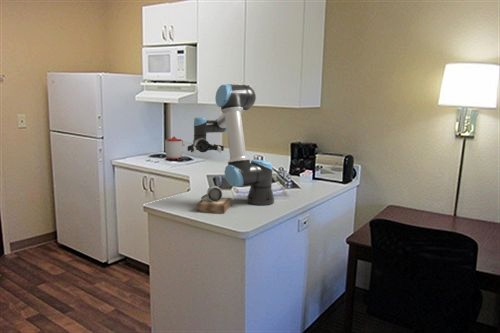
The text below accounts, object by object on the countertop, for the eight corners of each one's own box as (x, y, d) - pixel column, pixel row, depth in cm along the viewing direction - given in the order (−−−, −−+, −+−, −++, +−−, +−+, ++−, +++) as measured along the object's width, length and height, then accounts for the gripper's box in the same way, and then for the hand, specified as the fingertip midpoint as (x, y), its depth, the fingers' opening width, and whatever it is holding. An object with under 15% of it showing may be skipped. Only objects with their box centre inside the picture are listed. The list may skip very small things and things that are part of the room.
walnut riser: (230, 205, 219) (231, 197, 218) (224, 213, 204) (224, 205, 204) (205, 203, 221) (205, 195, 221) (197, 211, 207) (197, 203, 206)
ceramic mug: (220, 197, 217) (220, 183, 216) (222, 202, 209) (222, 187, 208) (200, 198, 215) (200, 184, 214) (201, 202, 207) (201, 187, 206)
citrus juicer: (186, 160, 355) (186, 137, 351) (166, 161, 350) (165, 137, 346) (183, 157, 370) (183, 135, 366) (163, 158, 364) (163, 135, 361)
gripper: (223, 151, 246) (230, 157, 226) (180, 151, 240) (184, 157, 220) (223, 138, 245) (230, 143, 225) (180, 138, 239) (184, 143, 218)
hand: (208, 150), depth 222 cm, fingers open, 13 cm apart
